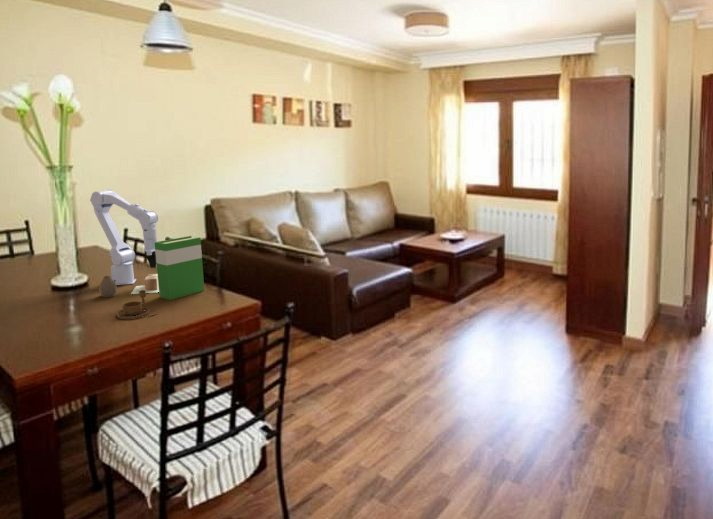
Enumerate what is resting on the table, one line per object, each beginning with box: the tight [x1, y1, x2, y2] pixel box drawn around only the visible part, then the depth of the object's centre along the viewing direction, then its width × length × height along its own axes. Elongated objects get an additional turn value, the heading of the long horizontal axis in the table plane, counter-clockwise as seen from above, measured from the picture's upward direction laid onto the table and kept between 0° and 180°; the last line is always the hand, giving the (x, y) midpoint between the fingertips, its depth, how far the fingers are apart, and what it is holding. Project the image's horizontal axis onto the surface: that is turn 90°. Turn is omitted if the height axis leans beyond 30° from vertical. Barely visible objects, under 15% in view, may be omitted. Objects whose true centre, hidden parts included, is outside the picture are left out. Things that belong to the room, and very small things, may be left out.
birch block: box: [144, 273, 159, 291], centre depth 248 cm, size 5×5×10 cm
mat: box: [130, 284, 159, 295], centre depth 246 cm, size 16×13×1 cm
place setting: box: [116, 290, 156, 320], centre depth 215 cm, size 18×20×6 cm
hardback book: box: [155, 235, 205, 301], centre depth 236 cm, size 18×7×24 cm, turn 142°
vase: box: [98, 275, 118, 298], centre depth 236 cm, size 7×7×9 cm
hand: (153, 267), depth 252 cm, fingers closed
